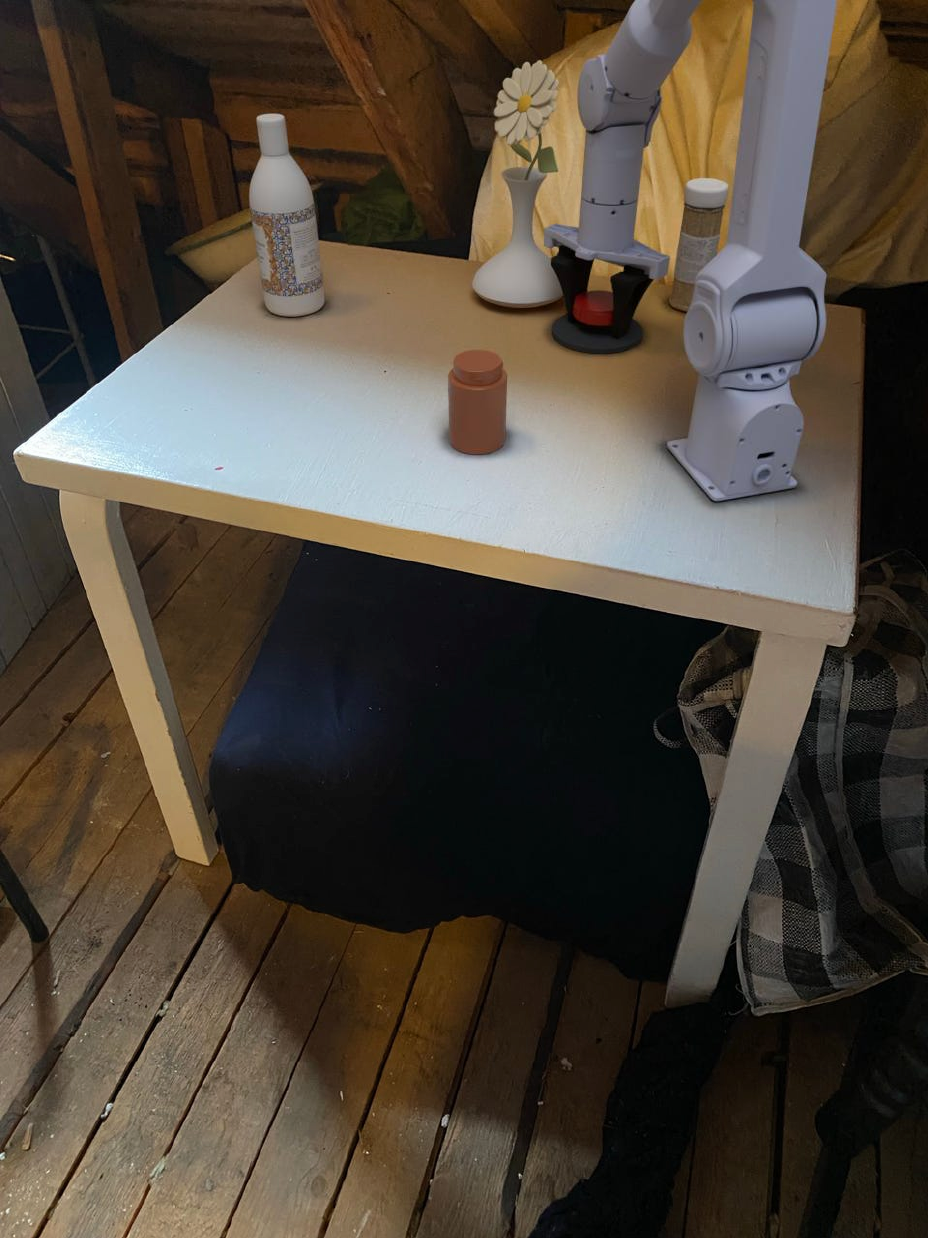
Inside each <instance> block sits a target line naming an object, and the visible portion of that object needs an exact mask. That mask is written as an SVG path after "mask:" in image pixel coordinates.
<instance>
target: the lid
mask: <svg viewBox="0 0 928 1238" xmlns="http://www.w3.org/2000/svg"><path fill="white" fill-rule="evenodd" d="M573 314H574V317H575V318H576V319H577V320H578V321H580V322H582V323H585V324H589V325H596V326H607V325H612V319H613V293H612V291H609V290H601V289H600V290H598V289H597V290H596V289H595V290H587V292H583V293H581V294H579V295H577V296H576V297H575V302H574V306H573Z"/></svg>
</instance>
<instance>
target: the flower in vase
mask: <svg viewBox="0 0 928 1238" xmlns="http://www.w3.org/2000/svg"><path fill="white" fill-rule="evenodd" d="M511 75H512V76H511V77H506V78H504V80H503V81H502V88H503V89H501V90H500V91H499V92H498V93H497V100H496V107H495V108H494V109H493V115H494V116H495V117H496V118H497V119H496V120H495V121H494V131H495V132H496V133H498V138H503V139H504V138H505V143H506V145H507V146H509V147H510V148H511V150H513V152H515V153H516V154H517V155H518V156H519V157H521V158H522V159H523V160H525V161H526V162H527V163H530V164H529V166H516V167H514V166H513V167H510V168H506V169H504V170H502V172H501V173H500V174H501V177H502V179H503V180H504V182H505V184H506V185H507V188H508V191H509V195H510V200H511V209H512V227H511V230H512V231H511V236H510V239H509V241H508V243H507V245H505V247H504V248H502V249H501V250H500V251H499V252H498V253H496V254H495V255H493V256H492V257H491V258H490V259H489V260H487V261H485V262H484V263H483V265H481V267H479V269H478V270H476V272H475V273H474V277H473V278H472V282H471V286H472V289H473V290H474V292H475V293H476V294H477V295H478V297H480V298H481V299H482V300H484V301H486V302H488V303H491V304H494V305H498V306H501V307H506V308H512V309H513V308H515V309H527V308H528V309H530V308H536V307H537V308H538V307H540V306H545V305H550V304H552V303H555V302H557V301H558V300H560V299H562V297H564V296H563V292H562V289H561V286H560V283H559V281H558V278H557V276H556V274H555V272H554V270H553V268H552V267H551V258H552V257H550V256H549V255H547V254H546V253H545V252H544V251H543V250H542V249H541V248H540V247H538V245H537V244H536V242H535V238H534V233H533V221H534V210H535V204H536V200H537V195H538V193H539V189H540V188H541V186H542V184H543V183H544V181H545V180H546V179H547V177H548V174H552V173H558V172H559V168H558V164H557V161H556V156H555V151H554V148H553V146H546V147H543V148H542V146H543V138H542V137H543V136H542V127H545V126H547V124H548V123H549V120H550V117H551V115H552V114H553V113H554V112H555V111H556V110H557V106H558V105H557V102H556V100H557V98H558V95H559V91H558V88H559V85H560V83H559V82H560V81H559V80H558V79H556V75H555V74H554V72H553V70H552V69H549V70H548V66H547V65H546V64H545V63H543V61H542V60H540V59H539V60H537V61H536V62H534V63H533V64H532V65H531V64H530V62H528V61H525V62H524V63H522V67H521V68H519V67H516V68H514V69H513V70H512V74H511ZM535 137H537V138H538V139H537V140H538V144H537V145H538V146H537V150H536V152H535V154H534V157H533V158H532V153H531V152H530V151H529V150H528V149H527V148H526V147H525V146H523V145H522V144H521V142H522V141H523V140H524V141H525V142H526V143H528V142H530V141H531V140H533V139H534V138H535ZM536 161H537V167H534V165H535V164H536Z"/></svg>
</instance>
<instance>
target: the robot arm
mask: <svg viewBox="0 0 928 1238" xmlns="http://www.w3.org/2000/svg"><path fill="white" fill-rule="evenodd" d="M751 1H752V4H753V5H752V6H753V8H752V19H751V27H750V35H749V43H748V44H749V45H748V53H747V61H746V62H747V63H746V69H745V70H746V71H745V79H744V87H743V89H744V90H743V97H742V104H741V105H742V106H741V114H740V121H739V122H740V123H739V131H738V132H739V133H738V142H737V149H736V159H735V166H734V175H733V185H732V194H731V203H730V210H729V220H728V229H727V238H726V244H725V246H724V247H723V248H722V249H721V250H720V251H719V252H717V255H716V256H715V257H714V258H713V259H712V260H711V261H710V262H709V263H708V264H707V265H706V266H705V267H704V268H703V269H702V270H701V271H700V272H699V273H698V274H697V276H696V282H695V289H694V294H693V298H692V302H691V305H690V307H689V310H688V312H687V311H686V314H685V318H684V321H683V326H682V327H683V328H682V329H683V330H682V338H683V339H682V340H683V346H684V352H685V355H686V357H687V359H688V361H689V363H690V364H691V366H692V367H693V369H694V370H695V371H696V372H697V374H698V378H697V383H696V389H695V395H694V401H693V406H692V412H691V417H690V423H689V428H688V434H687V437H686V438H685V437H684V438H679V439H673V440H668V441H667V444H666V448H667V449H668V450H669V451H670V452H671V453H672V455H673V456H674V457H675V458H676V460H677V461H678V462H679V463H680V464H681V466H682V467H683V468H684V469H685V470H686V471H687V473H688V474H689V475H690V476H691V477H692V478H693V480H694V481H695V482H696V483H697V484H698V485H699V486H700V488H701V489H702V490H703V491H704V492H705V494H706V495H707V496H708V497H709V498H710V499H711V500H712V501H713V502H722V501H727V500H731V499H732V500H733V499H737V498H744V497H749V496H750V497H751V496H757V495H762V494H767V493H773V492H778V491H783V490H789V489H794V488H797V486H798V480H797V479H795V477H794V476H792V472H793V469H794V465H795V461H796V457H797V454H798V450H799V447H800V443H801V439H802V436H803V432H804V428H805V420H804V415H803V413H802V411H801V409H800V408H799V406H798V405H797V404H796V402H795V399H794V397H793V396H792V391H791V385H790V381H791V378H792V377H793V376H797V375H799V374H800V369H801V366H802V362H805V361H807V360H810V359H811V358H813V357H814V356H815V355H816V354H817V352H818V351H819V350H820V347H821V345H822V343H823V340H824V337H825V333H826V328H827V311H826V306H825V288H826V287H825V286H826V281H827V272H825V270H824V269H823V268H822V267H821V265H820V264H819V263H818V262H817V261H816V260H814V259H813V258H812V257H811V256H810V255H809V254H808V253H806V252H805V251H804V250H803V249H802V248H801V247H800V241H801V234H802V229H803V222H804V215H805V209H806V203H807V197H808V190H809V184H810V177H811V171H812V164H813V158H814V154H815V153H814V151H815V145H816V139H817V134H818V133H817V132H818V127H819V120H820V113H821V106H822V100H823V94H824V88H825V82H826V75H827V70H828V69H827V68H828V62H829V57H830V50H831V49H830V48H831V45H832V44H831V43H832V37H833V30H834V25H835V18H836V11H837V6H838V0H751ZM702 2H703V0H634V1H633V3H632V4H631V6H630V8H629V9H628V11H627V13H626V15H625V17H624V19H623V20H622V23H621V25H620V26H619V28H618V30H617V32H616V34H615V35H614V37H613V40H612V41H611V43H610V45H609V47H608V49H607V51H606V52H605V53H604V54H598V55H596V57H595V58H589V59H587V60H586V61H585V62H584V63H583V67H582V69H581V71H580V74H579V79H578V83H577V94H576V97H577V110H578V115H579V119H580V122H581V125H582V126H583V128H584V129H585V135H584V136H585V137H584V147H583V148H584V149H583V150H584V151H583V161H582V176H581V177H582V178H581V189H580V204H579V218H578V227H577V226H570V225H564V224H561V223H560V224H559V223H553V224H551V225H549V226H547V227H545V228H544V233H543V234H544V236H543V237H544V238H543V246H544V247H545V248H549V249H553V248H558V251H557V253H556V255H554V256H552V257H550V258H551V267H552V268H553V270H554V272H555V274H556V276H557V278H558V281H559V283H560V286H561V289H562V292H563V296H562V297H563V300H564V305H565V311H566V314H567V316H568V321H569V322H572V323H573V322H575V321H577V319H576V318H575V317H574V314H573V306H574V302H575V297H576V296H577V295H579V294H581V293H583V292H587V291H588V290H589V289H588V288H589V283H590V277H591V273H592V270H593V269H592V268H593V265H594V262H595V260H597V261H602V262H605V263H609V264H612V265H614V266H618V267H622V269H623V270H622V271H619V272H617V273H615V274H613V275H610V280H609V282H610V286H611V292H612V293H613V319H612V337H615V338H619V337H621V336H623V335H625V334H626V333H628V330H629V327H630V324H631V321H632V318H633V319H634V316H635V313H636V311H637V308H638V306H639V305H640V303H641V301H642V299H643V297H644V295H645V293H646V292H647V290H648V289H649V287H650V285H651V284H652V282H654V281H659V280H660V279H663V278H664V277H666V276H668V275H669V268H670V259H671V255H668V254H665V253H662V252H659V251H657V250H655V249H654V248H651V247H649V245H646V244H645V243H642V242H640V241H639V240H637V239H635V231H636V223H637V214H638V213H637V212H638V204H639V196H640V188H641V187H640V186H641V178H642V169H643V161H644V160H643V159H644V151H645V149H646V148H647V147H649V145H650V143H651V140H652V133H653V127H654V125H655V123H656V121H657V119H658V117H659V114H660V111H661V107H662V102H663V96H662V86H663V84H664V83H665V81H666V79H668V77H669V75H670V74H671V72H672V70H673V69H674V67H675V66H676V64H677V63H678V61H679V60H680V58H681V56H682V55H683V53H684V52H685V50H686V49H687V47H688V46H689V44H690V41H691V38H692V34H693V28H692V21H691V16H692V15H693V14H694V12H695V11H696V10H697V9H698V7H700V5H701V3H702Z"/></svg>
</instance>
